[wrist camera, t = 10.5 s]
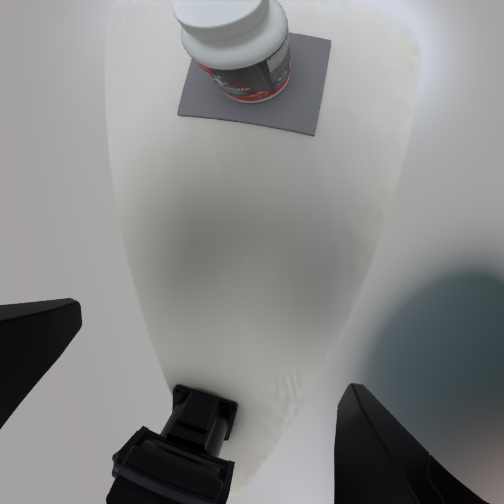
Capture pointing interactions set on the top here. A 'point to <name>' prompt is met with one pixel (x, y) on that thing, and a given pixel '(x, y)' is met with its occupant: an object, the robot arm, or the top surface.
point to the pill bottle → (238, 45)
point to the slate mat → (275, 109)
